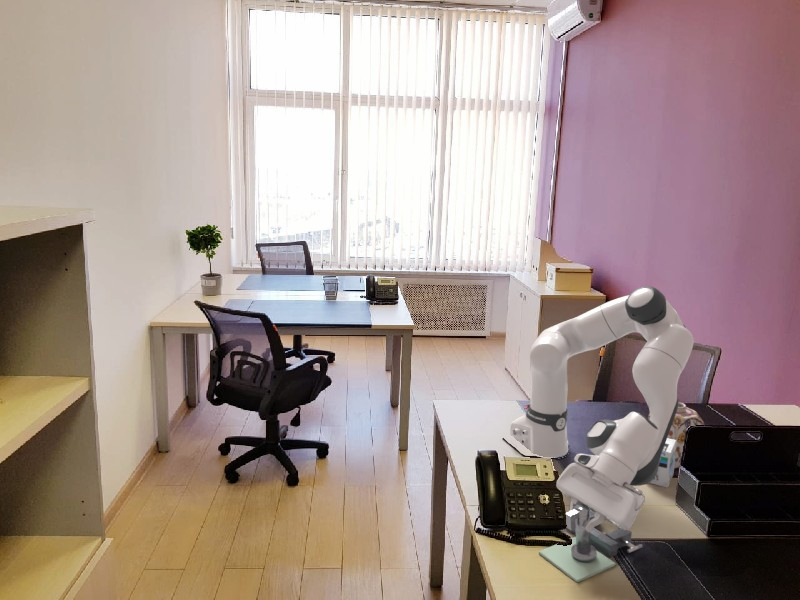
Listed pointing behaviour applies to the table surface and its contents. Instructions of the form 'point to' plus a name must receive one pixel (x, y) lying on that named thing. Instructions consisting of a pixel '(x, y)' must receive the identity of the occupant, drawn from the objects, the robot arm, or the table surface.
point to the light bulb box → (666, 464)
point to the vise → (610, 539)
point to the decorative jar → (682, 428)
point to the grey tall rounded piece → (581, 534)
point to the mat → (575, 562)
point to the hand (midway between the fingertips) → (577, 524)
